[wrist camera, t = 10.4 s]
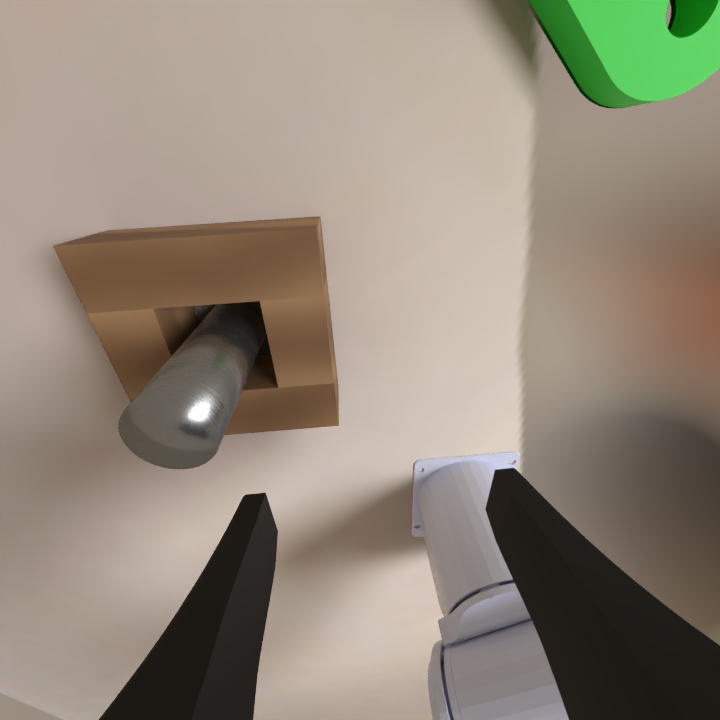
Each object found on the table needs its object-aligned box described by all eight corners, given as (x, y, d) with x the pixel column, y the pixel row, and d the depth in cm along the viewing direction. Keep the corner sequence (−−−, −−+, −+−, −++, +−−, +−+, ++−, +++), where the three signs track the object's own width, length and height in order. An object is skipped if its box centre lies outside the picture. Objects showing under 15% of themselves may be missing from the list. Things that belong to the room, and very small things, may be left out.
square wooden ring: (338, 388, 21) (338, 425, 18) (177, 400, 21) (150, 440, 18) (320, 216, 16) (316, 228, 13) (107, 230, 16) (52, 245, 13)
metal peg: (271, 345, 19) (227, 467, 12) (218, 346, 19) (136, 470, 11) (264, 295, 18) (208, 396, 10) (206, 296, 18) (103, 399, 10)
